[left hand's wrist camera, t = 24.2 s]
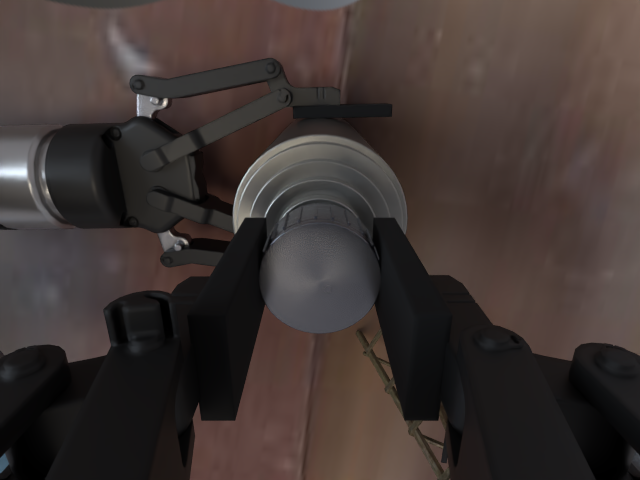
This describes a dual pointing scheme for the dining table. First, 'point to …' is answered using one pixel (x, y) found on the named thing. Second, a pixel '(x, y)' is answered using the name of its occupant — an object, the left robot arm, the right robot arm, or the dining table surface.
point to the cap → (319, 269)
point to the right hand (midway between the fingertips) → (385, 171)
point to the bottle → (319, 176)
